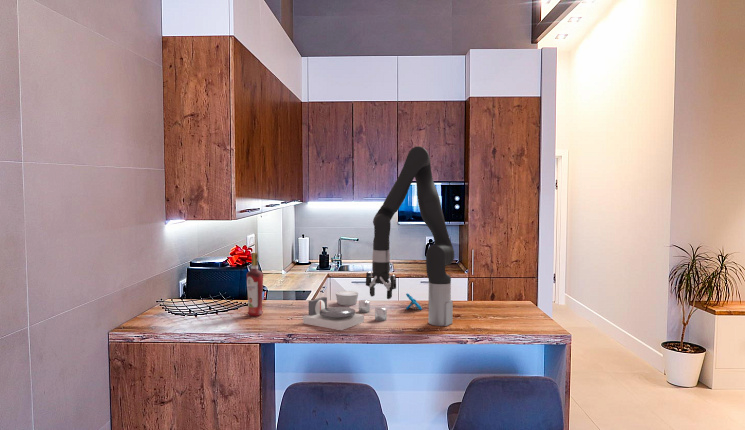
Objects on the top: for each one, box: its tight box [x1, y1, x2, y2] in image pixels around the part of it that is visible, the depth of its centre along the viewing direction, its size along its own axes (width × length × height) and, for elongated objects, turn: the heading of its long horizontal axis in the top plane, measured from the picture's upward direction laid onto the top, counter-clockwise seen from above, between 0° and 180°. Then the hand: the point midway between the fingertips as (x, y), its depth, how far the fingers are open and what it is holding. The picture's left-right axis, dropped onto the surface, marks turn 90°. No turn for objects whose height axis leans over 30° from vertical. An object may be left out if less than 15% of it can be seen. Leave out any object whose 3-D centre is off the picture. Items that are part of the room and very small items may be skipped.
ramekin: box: [335, 290, 359, 306], centre depth 255 cm, size 11×11×5 cm
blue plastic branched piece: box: [405, 292, 423, 311], centre depth 243 cm, size 11×6×10 cm
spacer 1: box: [358, 299, 371, 314], centre depth 238 cm, size 5×5×5 cm
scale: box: [302, 296, 365, 331], centre depth 218 cm, size 20×16×9 cm
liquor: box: [245, 252, 264, 318], centre depth 231 cm, size 7×7×28 cm
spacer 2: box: [374, 306, 388, 322], centre depth 224 cm, size 5×5×5 cm
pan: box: [320, 306, 356, 318], centre depth 217 cm, size 15×15×1 cm
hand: (380, 297), depth 224 cm, fingers open, 8 cm apart
